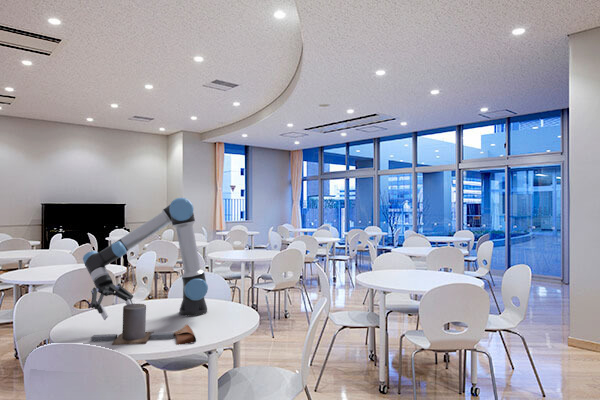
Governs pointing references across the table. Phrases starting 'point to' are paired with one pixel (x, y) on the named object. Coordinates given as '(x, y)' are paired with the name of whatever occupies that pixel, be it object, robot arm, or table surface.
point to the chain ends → (113, 336)
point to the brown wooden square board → (121, 341)
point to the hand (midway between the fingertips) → (119, 314)
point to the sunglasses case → (185, 335)
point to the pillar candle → (134, 321)
